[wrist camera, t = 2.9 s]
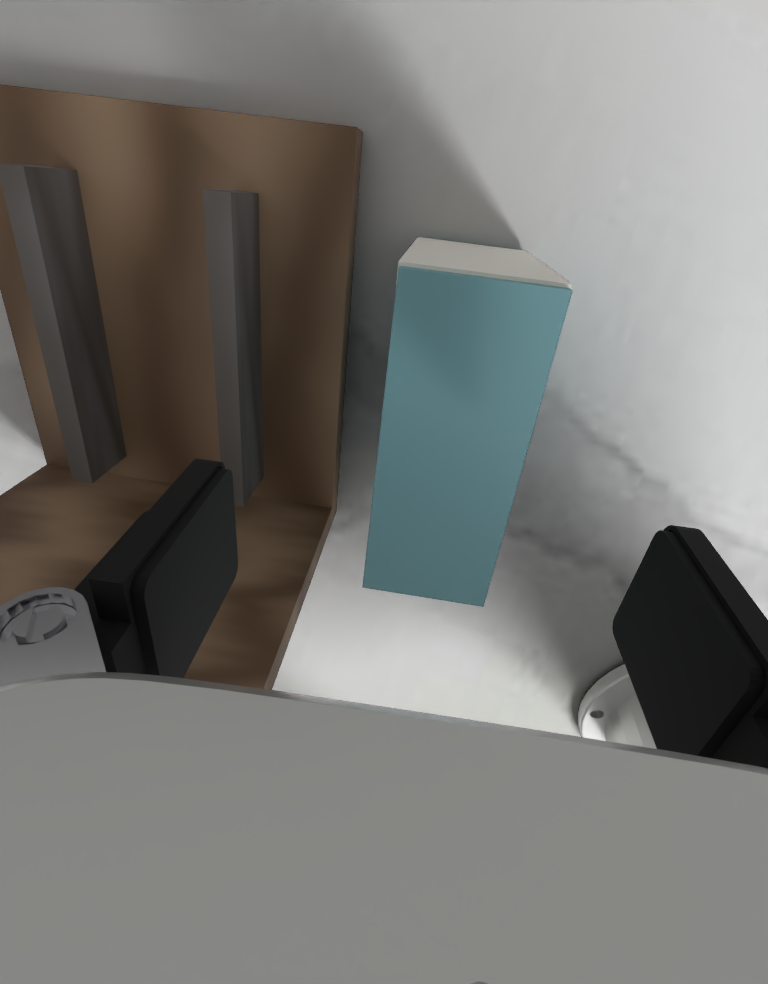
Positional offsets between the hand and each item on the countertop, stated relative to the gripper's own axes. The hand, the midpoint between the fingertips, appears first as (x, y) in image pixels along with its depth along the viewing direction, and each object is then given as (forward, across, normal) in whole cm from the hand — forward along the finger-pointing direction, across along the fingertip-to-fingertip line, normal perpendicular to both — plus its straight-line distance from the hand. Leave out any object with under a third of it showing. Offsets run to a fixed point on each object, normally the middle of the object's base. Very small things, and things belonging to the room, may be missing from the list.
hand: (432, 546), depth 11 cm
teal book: (+15, -1, +1) cm, 15 cm away
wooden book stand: (+15, +12, +1) cm, 20 cm away
